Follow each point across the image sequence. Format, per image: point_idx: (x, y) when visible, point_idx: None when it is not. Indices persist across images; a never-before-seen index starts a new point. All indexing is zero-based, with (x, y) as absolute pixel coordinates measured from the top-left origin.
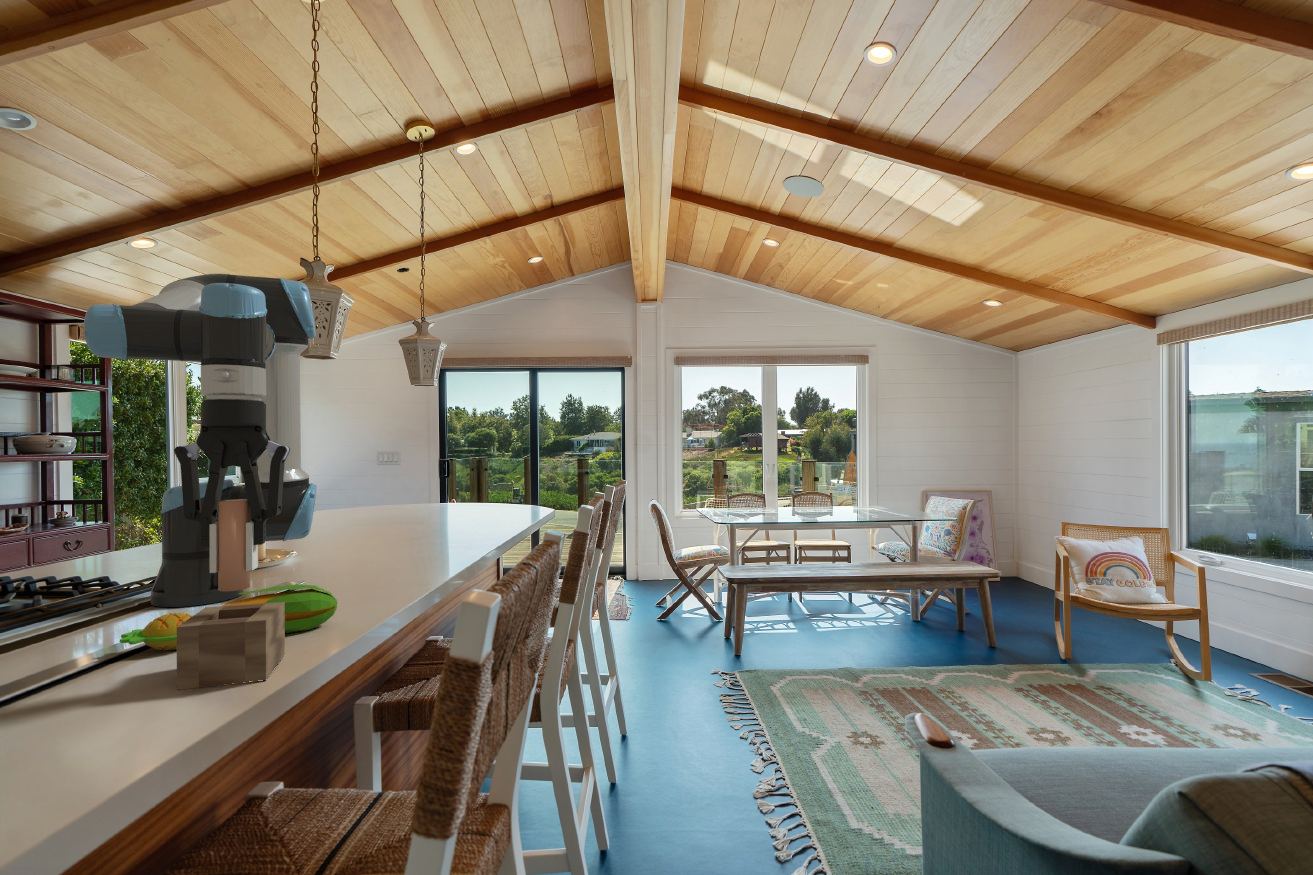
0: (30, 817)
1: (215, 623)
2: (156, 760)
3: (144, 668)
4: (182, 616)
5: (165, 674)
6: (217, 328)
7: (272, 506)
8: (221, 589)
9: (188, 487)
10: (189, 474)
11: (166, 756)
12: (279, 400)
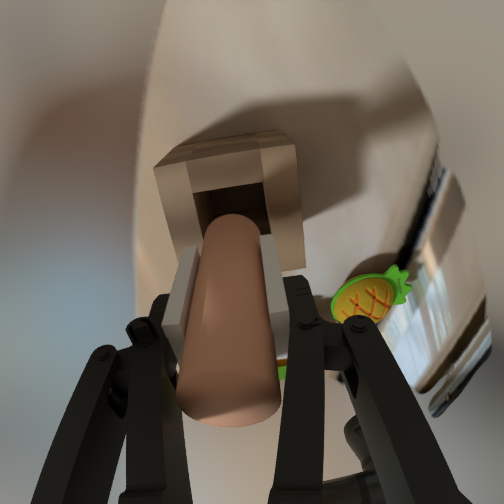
0: None
1: (235, 157)
2: None
3: (360, 221)
4: (357, 312)
5: (325, 193)
6: None
7: (96, 370)
8: (246, 218)
9: (394, 408)
10: (408, 461)
11: None
12: None
